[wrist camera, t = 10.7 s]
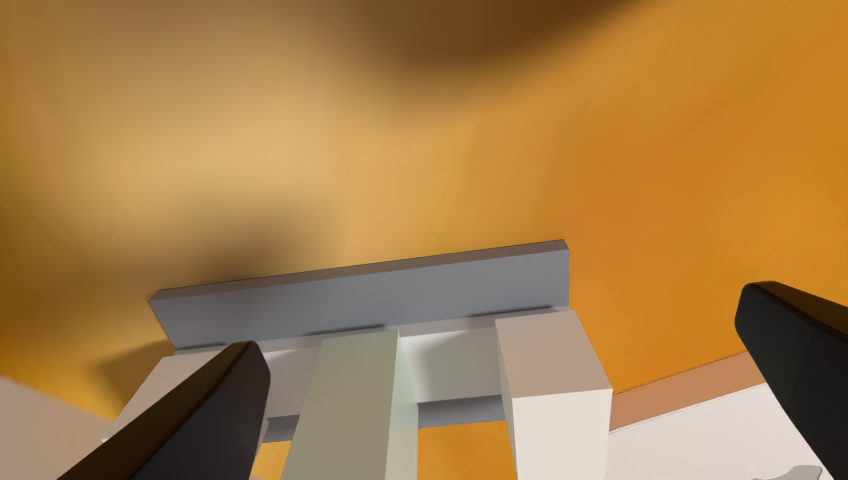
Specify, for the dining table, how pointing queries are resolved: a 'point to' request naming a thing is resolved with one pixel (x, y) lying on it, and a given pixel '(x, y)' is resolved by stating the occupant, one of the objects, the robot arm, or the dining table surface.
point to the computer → (707, 429)
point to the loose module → (357, 413)
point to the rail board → (416, 346)
